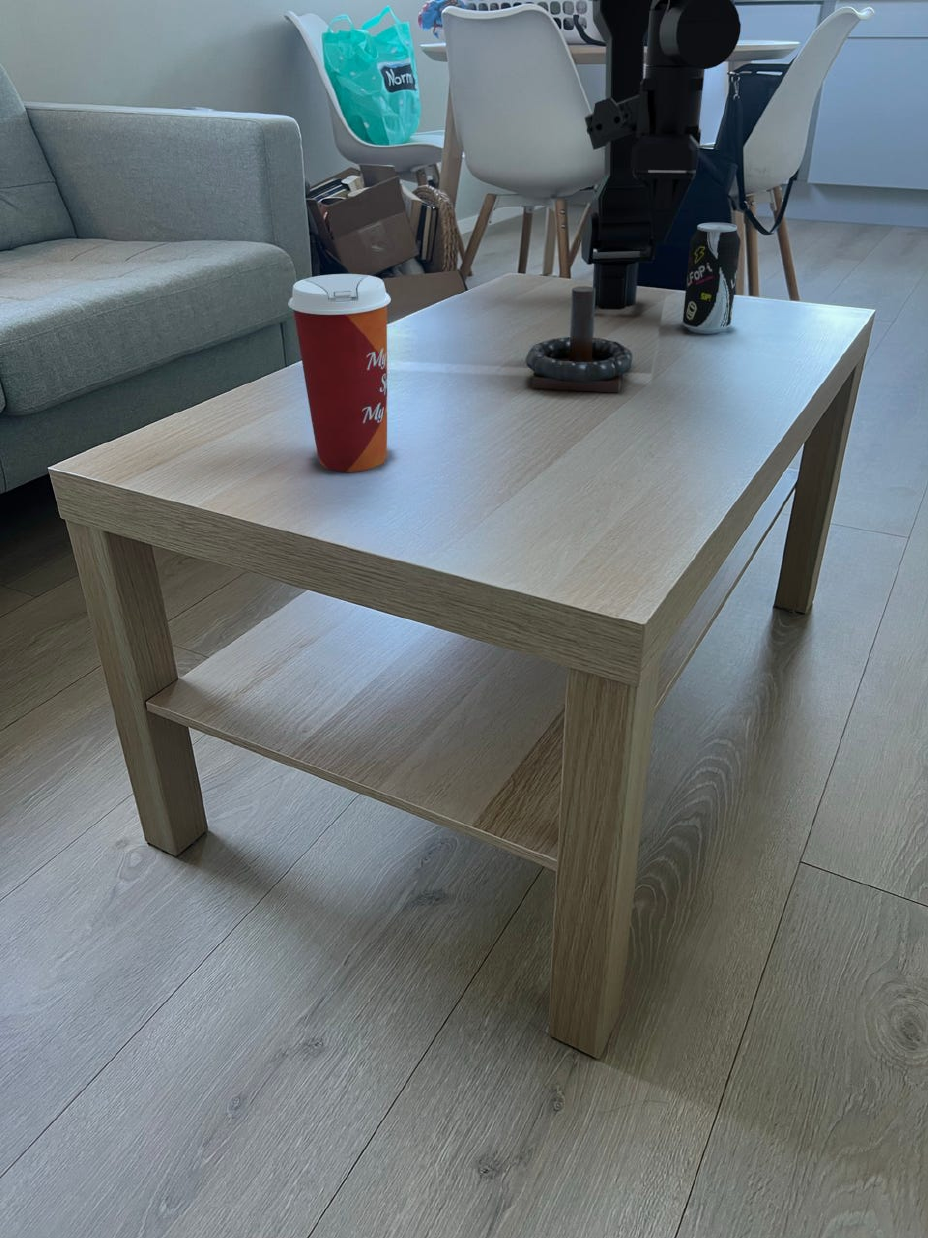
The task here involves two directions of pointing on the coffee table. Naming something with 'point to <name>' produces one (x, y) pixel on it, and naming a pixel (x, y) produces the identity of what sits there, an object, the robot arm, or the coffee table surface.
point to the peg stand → (580, 346)
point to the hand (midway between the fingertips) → (660, 234)
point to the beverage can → (711, 278)
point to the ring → (579, 371)
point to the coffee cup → (345, 366)
